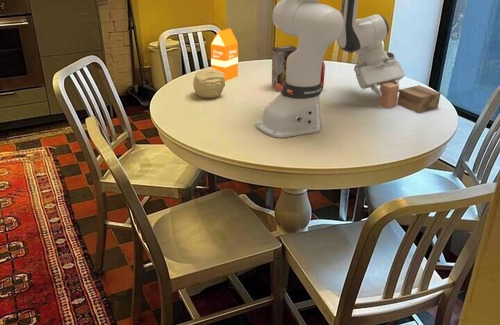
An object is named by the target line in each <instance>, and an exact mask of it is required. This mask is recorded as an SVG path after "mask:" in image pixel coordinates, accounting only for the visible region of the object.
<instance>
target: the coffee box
mask: <svg viewBox="0 0 500 325" xmlns="http://www.w3.org/2000/svg"><path fill="white" fill-rule="evenodd" d="M296 49H297V47H296V46H294V45H288V46H279V47H272V50H271V52H272V54H271V58H272V59H271V60H272V61H271V88H272V89H273V90H275V91H276V92H280V91H279V90H277V89H276V88H275V85H276V84H277V83H279V84H281V85H283V84H284V82H285V80H286V67H287V58H288V56H289V55H290V54H291V53H292V52H294V51H296Z"/></svg>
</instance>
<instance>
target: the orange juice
mask: <svg viewBox="0 0 500 325" xmlns="http://www.w3.org/2000/svg"><path fill="white" fill-rule="evenodd" d="M238 47H239V43H238V41H237V39H236V37H235V35H234V33H233V30H232V29H231V28H227V29H223V30H219V31H217V33H216V35H215V36H214V39H212V42H211V44H210V65H211V66H210V67H211V68H210V69H213V68H215V69H216V70H218V71H221V72H223V73H224V75H225V81H226V82H228V81H230V80H229V79H231V80H233V79H235V78H234V77H236V78H238V77H239V48H238ZM237 76H238V77H237ZM232 78H233V79H232ZM227 80H228V81H227Z"/></svg>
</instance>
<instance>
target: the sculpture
mask: <svg viewBox="0 0 500 325" xmlns="http://www.w3.org/2000/svg"><path fill="white" fill-rule="evenodd" d="M192 85H193V89H194V92H195V93H196V95H197V96H199V97H200V98H203V99H215V98H217V97H219V96H220V95H221V94H222V92H223V91H224V88H225V87H226V82H225V75H224V73H223V72H221V71H218V70H216V69H215V68H213V69H211V68H204V69H200V70H199V71H197V73H196V74H195V76H194V77H193V81H192Z"/></svg>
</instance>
